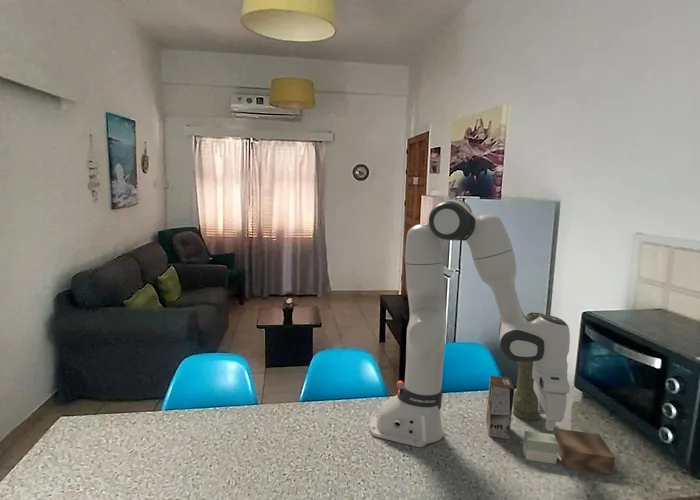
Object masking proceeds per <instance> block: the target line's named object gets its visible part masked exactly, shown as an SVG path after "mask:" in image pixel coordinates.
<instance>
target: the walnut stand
mask: <svg viewBox="0 0 700 500" xmlns="http://www.w3.org/2000/svg"><path fill="white" fill-rule="evenodd" d="M554 436H555V438H556V440H557V442H558V452H557V454H558V455H559V457H560V460H561V461H562V464H563V466H564V468H565V469H572V470H580V471H587V472H592V473H593V472H594V473H599V474H600V473H602V474H606V475H607V474H608V475H613V471H614V465H615V464H614V463H615V456H614V454H613V452H612V450H610V448H609V446H608V445H607V444H606V442H605V440H604V438H603V437H602V436H601V435H600V434H599V433H594V432H593V433H592V432H585V431H578V430H570V429H560V428H556V429H555V434H554Z"/></svg>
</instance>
